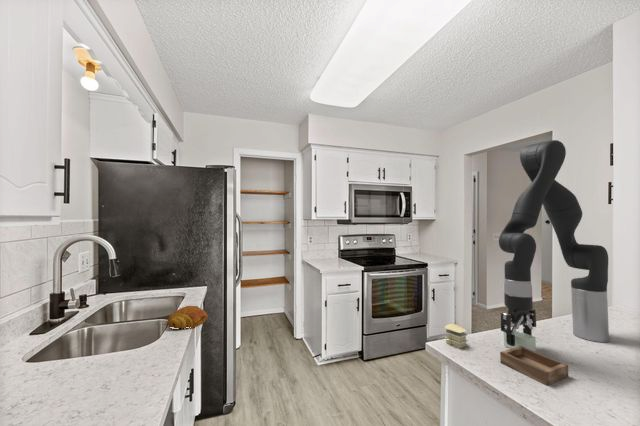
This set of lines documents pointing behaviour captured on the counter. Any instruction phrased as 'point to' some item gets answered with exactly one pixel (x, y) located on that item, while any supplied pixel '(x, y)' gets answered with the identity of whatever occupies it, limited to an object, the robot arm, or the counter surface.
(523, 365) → the big crate
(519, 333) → the box
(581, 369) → the counter surface
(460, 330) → the stacked layers on plate
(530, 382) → the counter surface
